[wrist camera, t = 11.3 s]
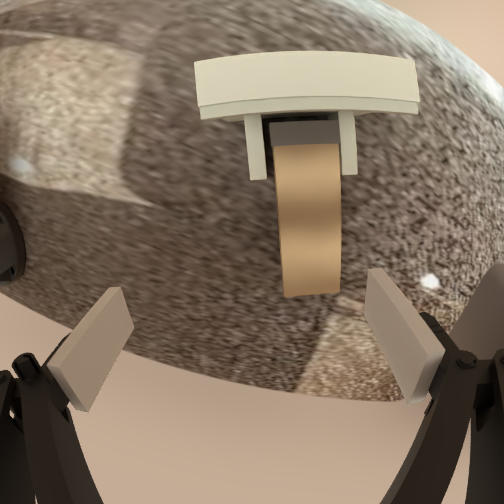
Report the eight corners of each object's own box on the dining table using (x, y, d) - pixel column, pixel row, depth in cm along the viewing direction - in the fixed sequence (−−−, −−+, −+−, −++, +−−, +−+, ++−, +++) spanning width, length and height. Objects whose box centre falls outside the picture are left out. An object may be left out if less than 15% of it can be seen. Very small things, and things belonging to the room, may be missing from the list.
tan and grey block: (327, 263, 34) (341, 293, 27) (279, 266, 34) (282, 297, 27) (322, 125, 28) (338, 120, 21) (268, 127, 28) (269, 122, 22)
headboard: (234, 176, 30) (209, 202, 17) (226, 96, 27) (194, 62, 14) (360, 168, 29) (423, 191, 16) (355, 90, 26) (413, 60, 13)
